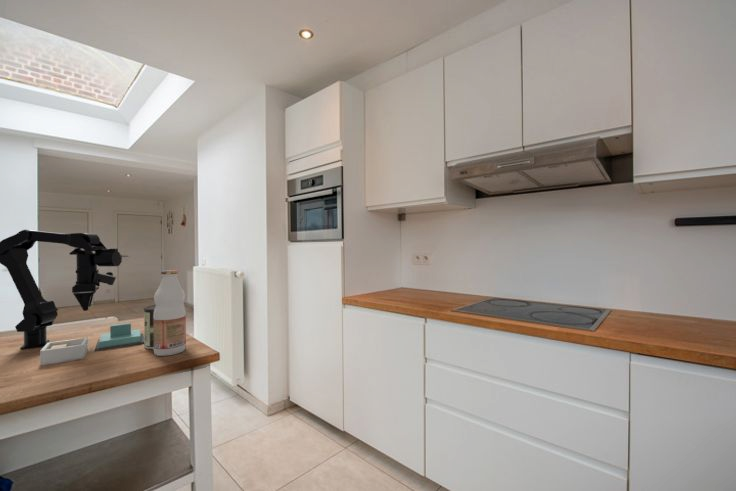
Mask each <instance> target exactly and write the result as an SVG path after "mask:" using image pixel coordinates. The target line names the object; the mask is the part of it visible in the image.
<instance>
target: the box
mask: <svg viewBox="0 0 736 491" xmlns="http://www.w3.org/2000/svg"><path fill="white" fill-rule="evenodd" d="M88 351H89V338H88V337H80V338H73V339H72V338H71V339H67V340H59V341H52V342H51V341H50V342H49V343H47V344H46V345H45V346H42V348H41V349H40V350H39V355H40V356H39V359H40V360H39V362H40V363H39V365H40V366H46V365H47V366H49V365H53V364H59V363H65V362H71V361H76V360H77V361H78V360H84V359H85V358H86V355H87V354H88Z"/></svg>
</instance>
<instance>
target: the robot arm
mask: <svg viewBox="0 0 736 491" xmlns="http://www.w3.org/2000/svg"><path fill="white" fill-rule="evenodd" d="M36 242H43V243H53V244H62V245H66V246H69V247H72V248H74V249H73V250H72V251H71V252H69V256H70V255H71V256H73V255H75V256H76V269H75V274H76V281H75V285H73V286H72V287H71V293H72V294H73V295H74V298H75V299H76V300H77V302H78V303H79V305H80V307H81V308H82V310H83V311H84V312H86V311H89V307H91V306H92V303H93V299H94V298H93V297H94V294H95V293H96V292H97V290H99V289H100V287H101V283H102V284H107V285H108V286H113V285H114V283H115V281H116V279H117V276H115V275H114V273H113V272H111V271H107V272H103V273H102V272H100V270H99V268H98V267H101V268H102V267H119V266H120V265H121V263H122V261H123V260H122V257H123V256H122V255H121V253H120V252H119V249H118V248H107V247H106V246H105V245H104V243H103V242H102V241H101V239H100V236H98V234H96V233H91V232H90V233H89V232H88V233H87V232H76V233H75V232H74V233H73V232H72V233H61V232H54V231H53V232H52V231H51V232H50V231H41V230H36V229H22V230H20V231H18V232H17V233H16V234H13V235H11V236H8V237H6V238H4V239H1V240H0V264H1V265H2V266H4V267H5V268H6V269H7V271H8V273H9V275H10V277H11V280H12V281H13V284H14V285H15V288H16V290H17V292H18V294H19V296H20V297H21V300H22V301H23V304H24V306H23V310H22V316H23V319H22V320H21V321H20V322H19V323H17V324H16V325H15V326H14V327H15V330H16V331H17V333H20V332H21V333H23V344H22V346H20V350H24V349H30V348H37V347H44V346H45V345H46V344H47V343H49V342H51V341H50V340H48V339H47V338H48V337H47V327H50V326H53V324H54V322H55V320H56V319H57V317H58V315H59V314H58V311H59V309H58V308H57V307H56V304H55V302H54V301H53V300H50V301H48V300H47V299H45V298H44V297H43V295H42V293H41V291H40V289H39V287H38V285H37V283H36V281H35V279H34V276H33V275H32V272H31V270H30V268H29V265H28V264H27V262H28V258H29V254H28V251H29V250H30V249H32V248H33V247H34V245H35V244H36Z"/></svg>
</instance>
